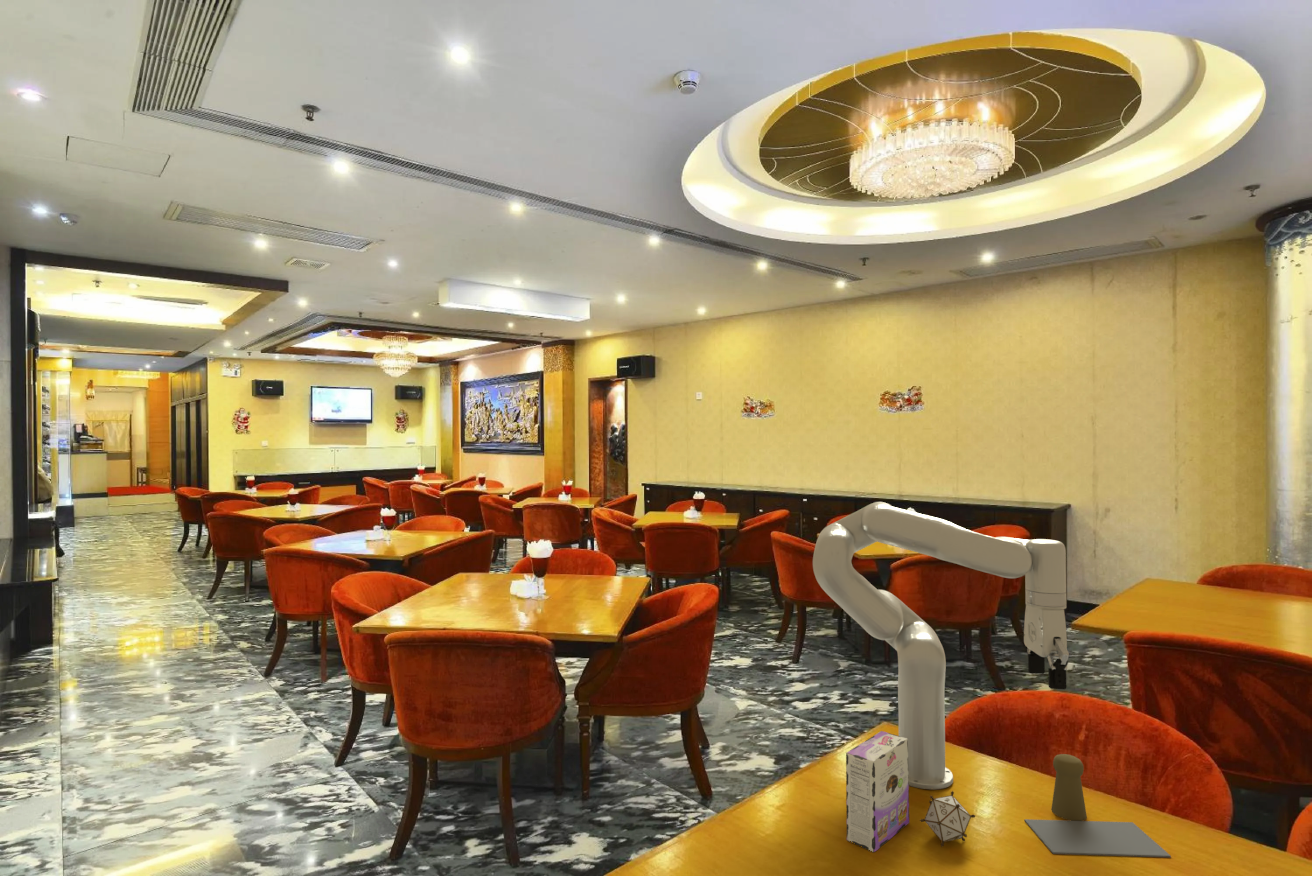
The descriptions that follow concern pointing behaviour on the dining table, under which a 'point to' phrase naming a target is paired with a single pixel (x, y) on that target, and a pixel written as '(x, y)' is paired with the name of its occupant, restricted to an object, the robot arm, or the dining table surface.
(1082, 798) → the cork
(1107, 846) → the felt mat
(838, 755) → the dining table surface
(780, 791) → the dining table surface
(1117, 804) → the dining table surface
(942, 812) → the game die
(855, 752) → the candy box
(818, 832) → the dining table surface
